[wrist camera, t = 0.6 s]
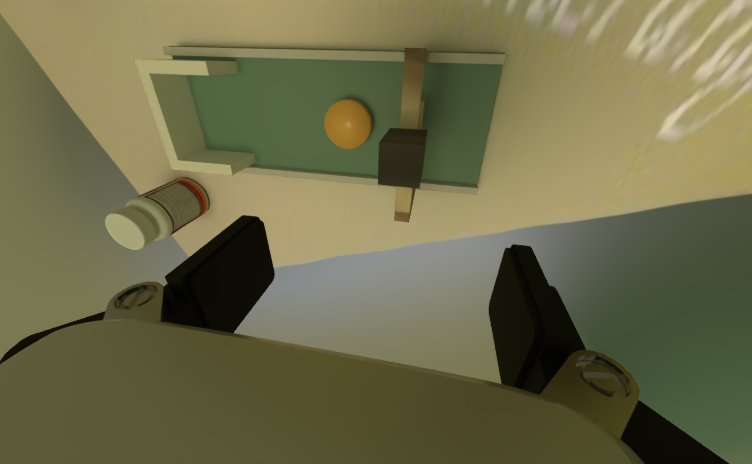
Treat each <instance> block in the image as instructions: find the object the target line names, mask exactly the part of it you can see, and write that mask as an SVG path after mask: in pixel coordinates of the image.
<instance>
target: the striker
mask: <svg viewBox="0 0 752 464" xmlns="http://www.w3.org/2000/svg"><path fill="white" fill-rule="evenodd" d="M428 57H429V51H428V50H426V49H425V48H405V55H404V71H403V87H402V103H401V120H400V128H390V129H389V130H388V131H387V133H386V134H385V135H384V136H383V138H382V139H381V140H380V142H379V156H378V185H386V186H396V200H395V217H394V221H402V222H409V219H410V214H411V209H412V205H413V200H414V195H415V189H416V188H418V189H420V183H421V177H422V172H423V166H424V157H425V147H426V138H427V130H423V120H424V110H425V100H426V97H421V94H422V83H423V72H424V64H428Z"/></svg>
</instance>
